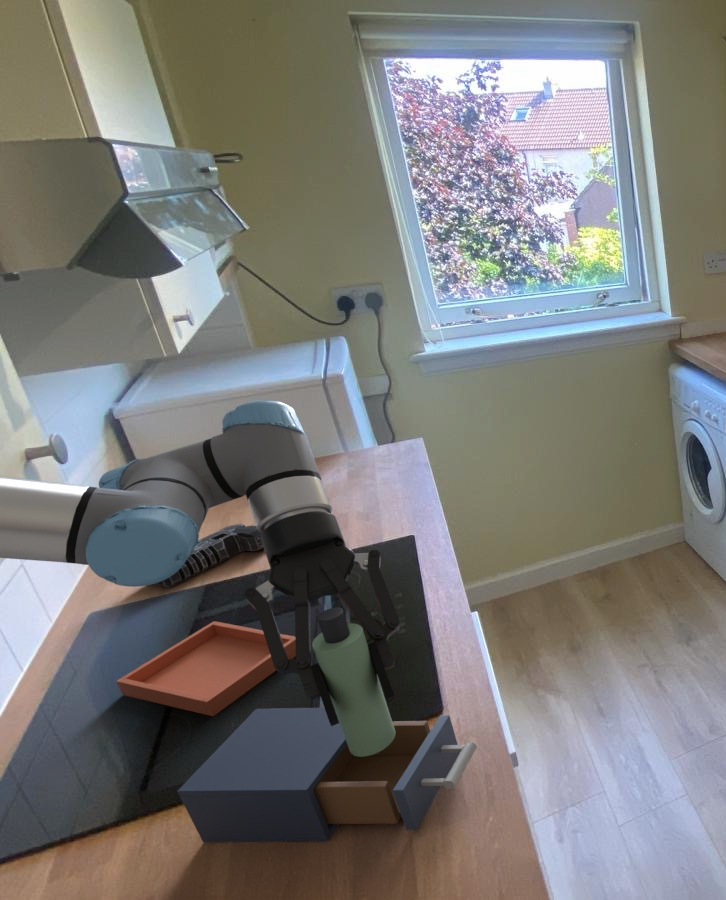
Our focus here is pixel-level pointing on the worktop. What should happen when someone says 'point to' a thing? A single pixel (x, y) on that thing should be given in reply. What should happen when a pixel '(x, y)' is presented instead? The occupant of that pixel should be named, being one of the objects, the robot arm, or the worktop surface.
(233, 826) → the cabinet
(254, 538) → the sci-fi power cell
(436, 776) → the drawer
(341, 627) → the green bottle
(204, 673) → the tray
